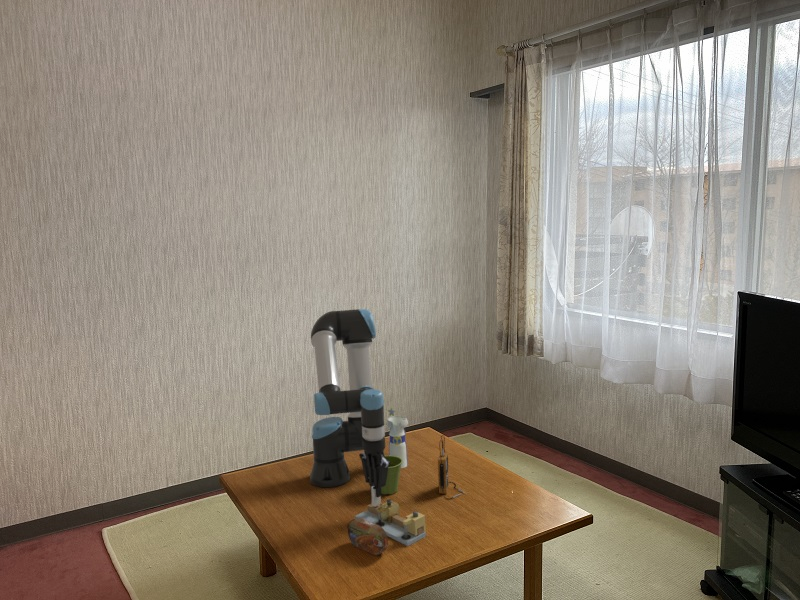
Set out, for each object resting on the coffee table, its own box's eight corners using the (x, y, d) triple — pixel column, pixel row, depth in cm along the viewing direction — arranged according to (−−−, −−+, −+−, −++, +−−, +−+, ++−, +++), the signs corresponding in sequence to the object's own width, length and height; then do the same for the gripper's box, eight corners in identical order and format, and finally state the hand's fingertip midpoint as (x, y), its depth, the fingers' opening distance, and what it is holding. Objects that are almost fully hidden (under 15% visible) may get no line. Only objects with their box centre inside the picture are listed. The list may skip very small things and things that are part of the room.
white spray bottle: (409, 468, 245) (407, 407, 242) (388, 469, 245) (385, 408, 242) (409, 460, 253) (407, 401, 250) (388, 461, 254) (386, 402, 250)
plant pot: (408, 485, 230) (407, 456, 228) (397, 499, 219) (396, 469, 217) (378, 482, 234) (377, 453, 232) (366, 495, 223) (365, 466, 221)
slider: (374, 521, 200) (373, 503, 199) (390, 514, 205) (390, 496, 204) (383, 525, 197) (382, 507, 196) (399, 517, 202) (398, 500, 201)
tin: (347, 543, 191) (346, 517, 190) (354, 538, 193) (353, 513, 192) (383, 559, 181) (381, 532, 180) (390, 554, 183) (389, 528, 182)
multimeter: (465, 500, 216) (464, 445, 213) (437, 499, 218) (435, 444, 215) (469, 482, 230) (468, 431, 228) (442, 481, 232) (441, 430, 230)
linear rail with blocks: (355, 519, 206) (354, 497, 205) (374, 510, 211) (373, 489, 210) (407, 546, 188) (406, 522, 187) (426, 535, 193) (426, 512, 192)
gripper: (352, 435, 206) (355, 502, 209) (378, 445, 196) (381, 515, 200) (368, 429, 211) (371, 494, 214) (395, 438, 201) (398, 506, 205)
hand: (376, 504), depth 207 cm, fingers closed
